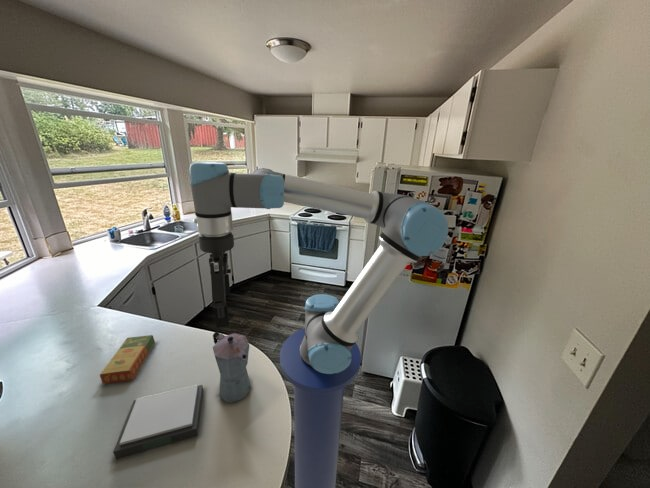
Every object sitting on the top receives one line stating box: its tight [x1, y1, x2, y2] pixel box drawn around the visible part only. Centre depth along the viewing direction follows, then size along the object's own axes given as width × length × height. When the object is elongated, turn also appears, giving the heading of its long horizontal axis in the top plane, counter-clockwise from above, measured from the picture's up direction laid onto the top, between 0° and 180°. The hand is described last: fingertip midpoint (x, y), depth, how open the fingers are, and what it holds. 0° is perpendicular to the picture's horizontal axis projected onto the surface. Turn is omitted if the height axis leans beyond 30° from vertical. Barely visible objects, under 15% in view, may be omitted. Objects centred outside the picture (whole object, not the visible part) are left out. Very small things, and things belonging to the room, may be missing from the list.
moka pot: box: [212, 331, 251, 403], centre depth 71 cm, size 10×15×20 cm, turn 58°
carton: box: [99, 334, 156, 385], centre depth 82 cm, size 8×16×4 cm, turn 12°
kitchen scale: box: [112, 384, 204, 460], centre depth 65 cm, size 17×13×3 cm
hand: (224, 309), depth 65 cm, fingers open, 13 cm apart
